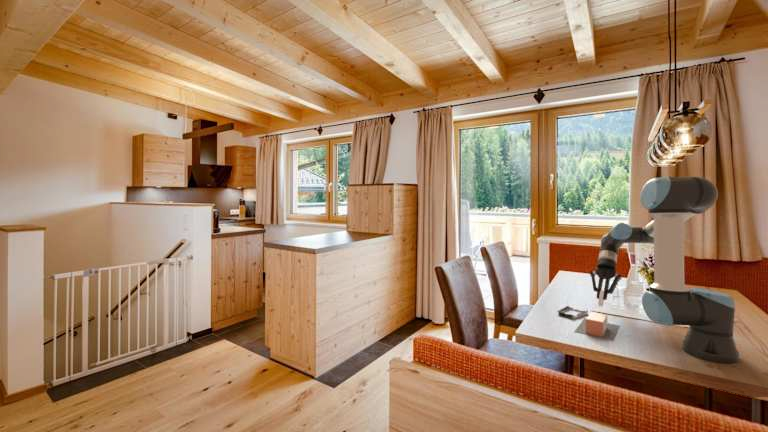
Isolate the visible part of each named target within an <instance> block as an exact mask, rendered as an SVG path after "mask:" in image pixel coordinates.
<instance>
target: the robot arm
mask: <svg viewBox="0 0 768 432" xmlns="http://www.w3.org/2000/svg"><path fill="white" fill-rule="evenodd" d="M718 196H719V191H718V188H717V186H716V185H715V184H714V183H713V182H712V181H710V180H709V179H707V178H704V177H702V176H663V177H654V178H651V179H650V180H648V181H647V182H645V184H644V185H643V187H642V190H641V193H640V199H639V200H640V203H641V206H642V208H644V209H645V210H647V211H648V215H649V216H650V217H651V218H652V220H650V222H649V223H647V224H646V225H645V226H635V227H634V226H630V224H628V223H624V222H618V223H616V224H614V226H613V227H612V228H611V229H610V230H609V232H608V233H606V234H603V236H602V238H601V240H600V247H599V249H600V250H599V253H598V258H597V265H596V268H595V269H594V270H593V271H592V270H590V271H589V275H590V277H591V282H592V288H593V292H596V299H598V303H597V304H598V307H601V308H603V306H604V301H607V299H608V295H609V294H610V295H612V294H613V293H614V291H615V289H616V287H617V285H618V283H619V281H621V280H622V274H620V273H617V271H616V270H617V263H618V262H617V261H618V256H619V249H620V248H621V247H622V246H623V245H624V244H653V264H654V265H653V266H654V267H653V270H654V272H653V273H654V274H653V275H654V281H653V283H651V284H649V290H648V291H646V292H644V293H643V294H642V297H641V304H642V308H643V311H644V313H645V315H646V316H647V318H648V319H649V320H650V321H652V322H653V323H654V324H657V325H666V326H688V327H689V328H688V329H687V332H686V334H685V336H684V339H683V340H682V343H681V344H682V345H681V348H682V350H683V351H685V352H686V353H687V354H690V355H691V356H694V357H697V358H700V359H702V360H707V361H711V362H714V363H721V364H722V363H723V364H736V363H739V361H740V351H739V350H738V348H737V346H736V343H735V339H734V325H735V322H734V321H735V311H736V307H735V305H736V304H735V298H734V297H733V296H731V295H730V294H727V293H724V292H720V291H717V290H712V289H708V288H701V287H692V288H689V287H688V286H687V285H686V284H685V282H686V281H685V239H684V238H685V231H684V229H685V227H684V224H685V223H684V222H686V221H688V220H689V219H690V218H692V217H694V216H695V215H700V214H704V213H705V212H707V211H709V210H710V209H711V208H712V207H713V206H714V205H715V204H716V202H717V200H718V198H719V197H718ZM596 275H597V277H598V278H599V279H598V284H597V283H596V278H595V276H596ZM611 279H613V281H612V282H611ZM604 280H605V281H604ZM603 282H604V288H603ZM610 282H611V285H610Z"/></svg>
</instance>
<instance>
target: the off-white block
mask: <svg viewBox="0 0 768 432" xmlns="http://www.w3.org/2000/svg"><path fill="white" fill-rule="evenodd" d="M585 319H586V333H587V334H591V335H596V336H600V337H602V336H603V335H604V333H605V331H606V329H607V323H608V314H605V313H600V312H595V311H590V313H588V315H587V317H586V318H585Z"/></svg>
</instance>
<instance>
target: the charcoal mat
mask: <svg viewBox="0 0 768 432" xmlns="http://www.w3.org/2000/svg"><path fill="white" fill-rule="evenodd" d="M620 327H621V325H619V324H614V323H608V322H607V329H606V331H605V333H604V335H603V336H602V337H600V336H596V335H591V334H587V333H586V318H583V320H582V321H581V323H580V324H579V325H578V326H577V327H576V329H575V330H574V331H573V332H574V333H576V334H581V335H586V336H589V337H594V338H599V339H604V340H606V341H607V340H608V341H612V342H613V341H615V338H616V335H617V334H618V331H619V329H620Z"/></svg>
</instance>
